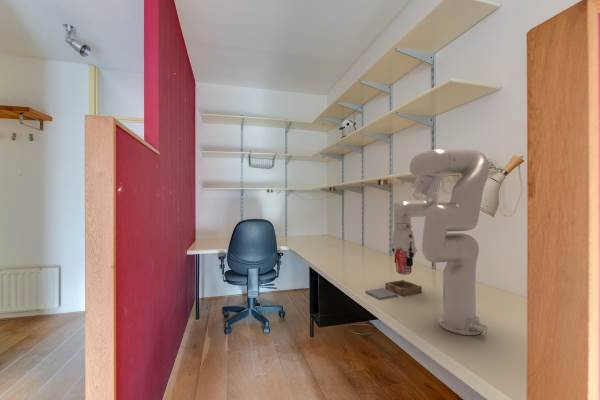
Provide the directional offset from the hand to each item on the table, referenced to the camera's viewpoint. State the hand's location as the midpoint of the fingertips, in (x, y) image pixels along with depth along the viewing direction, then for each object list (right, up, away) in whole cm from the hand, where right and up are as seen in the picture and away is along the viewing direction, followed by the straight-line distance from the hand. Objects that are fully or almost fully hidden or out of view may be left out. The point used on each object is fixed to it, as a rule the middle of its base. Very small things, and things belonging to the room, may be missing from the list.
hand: (403, 264), depth 127 cm
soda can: (0, -5, 0) cm, 5 cm away
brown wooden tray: (0, -13, 0) cm, 13 cm away
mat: (-12, -13, -5) cm, 18 cm away
